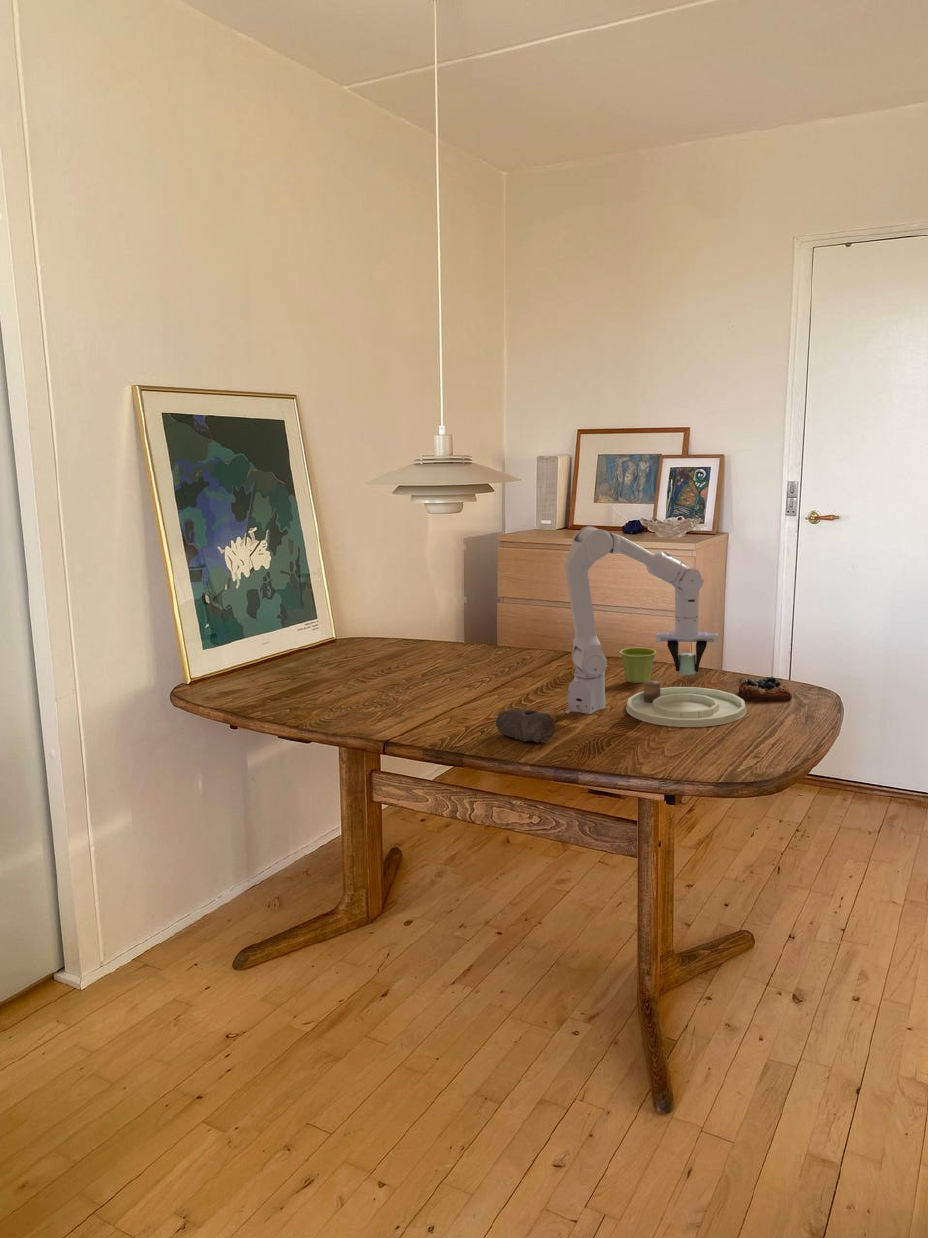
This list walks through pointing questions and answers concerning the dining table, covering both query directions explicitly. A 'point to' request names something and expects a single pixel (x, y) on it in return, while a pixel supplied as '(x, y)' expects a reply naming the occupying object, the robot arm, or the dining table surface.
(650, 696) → the walnut bead
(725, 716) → the groove tray
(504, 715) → the perforated stone tool
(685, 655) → the teal bead
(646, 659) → the plant pot
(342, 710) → the dining table surface
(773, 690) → the pastry
